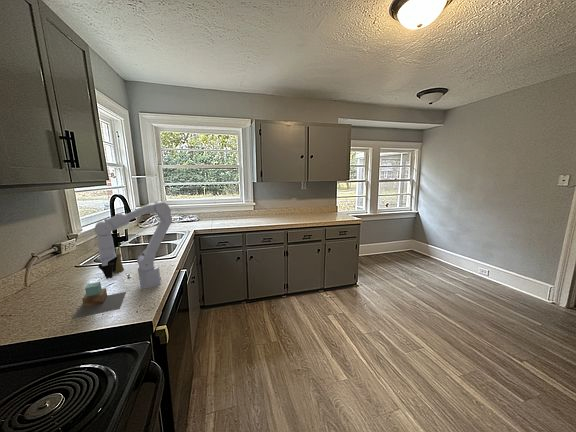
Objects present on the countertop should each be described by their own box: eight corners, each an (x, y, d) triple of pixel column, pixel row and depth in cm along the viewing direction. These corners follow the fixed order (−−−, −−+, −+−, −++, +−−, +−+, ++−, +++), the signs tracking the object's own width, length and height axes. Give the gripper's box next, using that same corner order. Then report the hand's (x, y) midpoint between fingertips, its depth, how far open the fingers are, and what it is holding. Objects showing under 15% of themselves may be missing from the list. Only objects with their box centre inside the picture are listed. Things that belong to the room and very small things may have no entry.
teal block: (101, 289, 111) (100, 281, 110) (99, 294, 107) (97, 285, 106) (89, 292, 109) (87, 283, 108) (86, 296, 105) (84, 288, 104)
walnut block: (107, 295, 113) (106, 288, 112) (103, 303, 107) (102, 295, 106) (88, 299, 110) (87, 291, 109) (83, 307, 104) (82, 298, 103)
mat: (126, 292, 117) (126, 291, 117) (119, 309, 102) (119, 308, 102) (85, 300, 110) (85, 299, 110) (72, 320, 96) (71, 319, 96)
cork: (113, 269, 143) (110, 252, 141) (125, 268, 145) (122, 251, 143) (110, 274, 138) (107, 255, 135) (122, 272, 140) (119, 254, 137)
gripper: (100, 244, 116) (104, 270, 118) (90, 253, 103) (96, 283, 105) (117, 242, 118) (121, 267, 121) (110, 251, 106) (115, 279, 108)
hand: (111, 274), depth 113 cm, fingers open, 7 cm apart
